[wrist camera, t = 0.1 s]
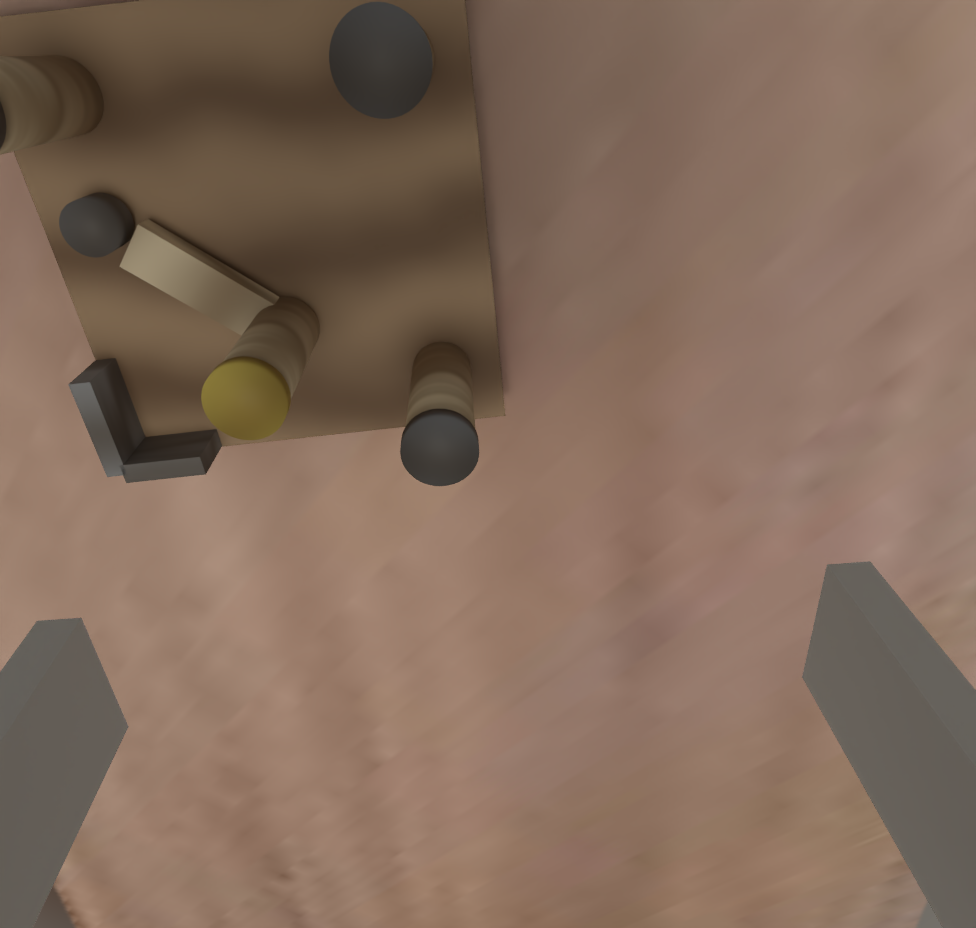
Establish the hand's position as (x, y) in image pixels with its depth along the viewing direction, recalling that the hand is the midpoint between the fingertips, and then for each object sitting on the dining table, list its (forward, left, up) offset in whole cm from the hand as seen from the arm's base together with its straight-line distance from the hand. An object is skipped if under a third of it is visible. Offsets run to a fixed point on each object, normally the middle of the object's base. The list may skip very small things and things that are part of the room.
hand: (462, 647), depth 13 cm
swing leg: (-1, -12, -25) cm, 27 cm away
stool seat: (-2, -8, -28) cm, 29 cm away
